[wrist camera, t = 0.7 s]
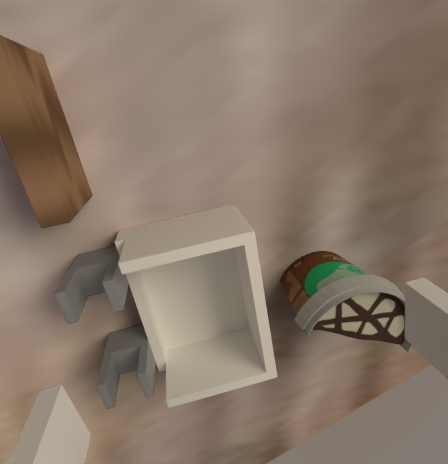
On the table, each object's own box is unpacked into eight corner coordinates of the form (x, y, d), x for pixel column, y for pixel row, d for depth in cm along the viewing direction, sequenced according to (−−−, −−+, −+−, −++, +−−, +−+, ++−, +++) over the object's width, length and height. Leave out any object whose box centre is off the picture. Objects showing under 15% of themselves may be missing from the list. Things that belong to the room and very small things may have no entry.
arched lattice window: (378, 254, 39) (445, 299, 29) (356, 297, 40) (413, 353, 31) (288, 230, 35) (331, 272, 26) (268, 278, 37) (302, 334, 28)
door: (18, 59, 26) (-41, 39, 19) (43, 54, 26) (-5, 33, 19) (71, 199, 30) (41, 228, 23) (92, 195, 31) (69, 222, 23)
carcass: (72, 241, 32) (44, 281, 24) (234, 204, 33) (254, 231, 26) (120, 363, 38) (110, 424, 30) (256, 327, 39) (277, 377, 32)
